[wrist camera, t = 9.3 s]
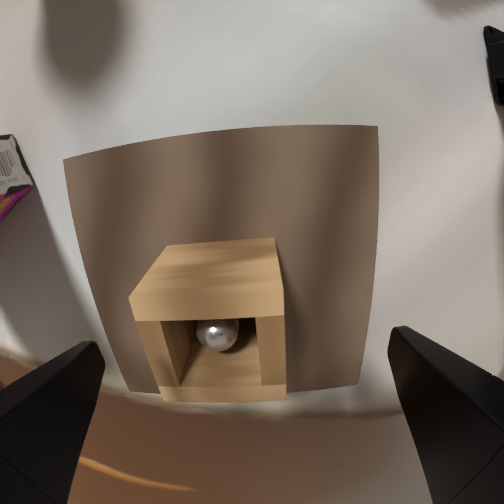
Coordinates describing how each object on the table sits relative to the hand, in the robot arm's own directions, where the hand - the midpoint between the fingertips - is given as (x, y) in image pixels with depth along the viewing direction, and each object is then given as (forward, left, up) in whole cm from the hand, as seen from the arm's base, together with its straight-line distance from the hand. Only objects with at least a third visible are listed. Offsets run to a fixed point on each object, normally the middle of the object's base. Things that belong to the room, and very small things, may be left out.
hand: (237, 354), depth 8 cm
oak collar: (+1, +3, -9) cm, 10 cm away
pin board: (+2, +3, -11) cm, 11 cm away
